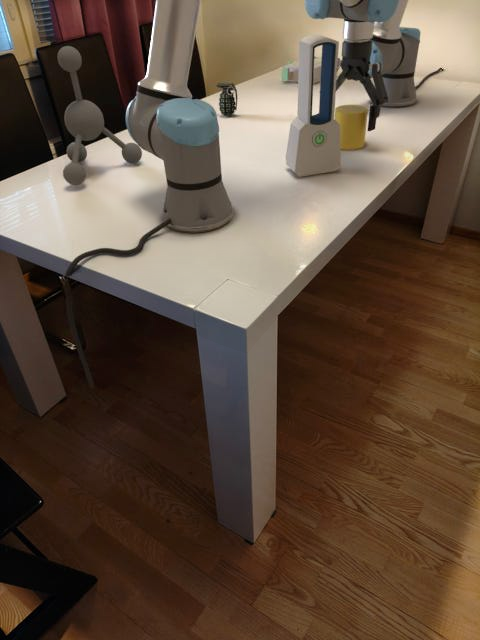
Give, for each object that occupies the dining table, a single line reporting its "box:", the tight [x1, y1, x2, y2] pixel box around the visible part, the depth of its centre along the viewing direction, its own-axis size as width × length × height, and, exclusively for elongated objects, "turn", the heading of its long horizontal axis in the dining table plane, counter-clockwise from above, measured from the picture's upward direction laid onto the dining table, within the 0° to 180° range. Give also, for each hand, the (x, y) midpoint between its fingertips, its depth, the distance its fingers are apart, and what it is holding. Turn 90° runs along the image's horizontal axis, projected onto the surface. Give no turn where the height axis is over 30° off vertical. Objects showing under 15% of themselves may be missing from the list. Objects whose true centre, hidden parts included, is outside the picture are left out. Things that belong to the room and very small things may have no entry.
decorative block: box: [281, 55, 322, 85], centre depth 206 cm, size 26×6×20 cm
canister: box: [334, 104, 369, 151], centre depth 137 cm, size 9×9×10 cm
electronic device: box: [285, 34, 342, 178], centre depth 117 cm, size 12×8×30 cm, turn 105°
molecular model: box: [57, 45, 143, 186], centre depth 125 cm, size 24×22×30 cm
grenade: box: [215, 82, 238, 117], centre depth 166 cm, size 7×6×10 cm
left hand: (350, 125), depth 137 cm, fingers open, 13 cm apart
